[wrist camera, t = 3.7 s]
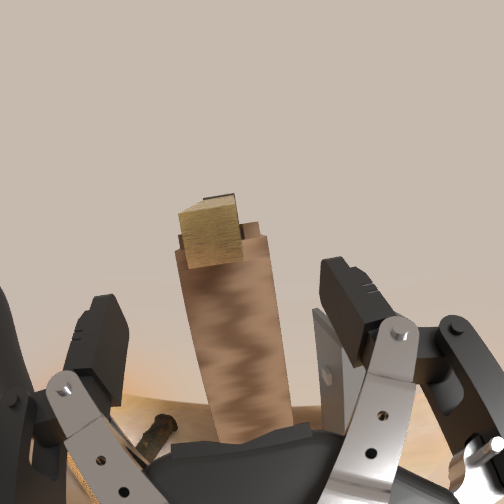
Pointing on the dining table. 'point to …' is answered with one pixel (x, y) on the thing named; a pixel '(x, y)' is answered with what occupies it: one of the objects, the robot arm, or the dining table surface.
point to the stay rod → (211, 232)
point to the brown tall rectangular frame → (238, 340)
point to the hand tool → (156, 436)
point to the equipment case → (335, 376)
